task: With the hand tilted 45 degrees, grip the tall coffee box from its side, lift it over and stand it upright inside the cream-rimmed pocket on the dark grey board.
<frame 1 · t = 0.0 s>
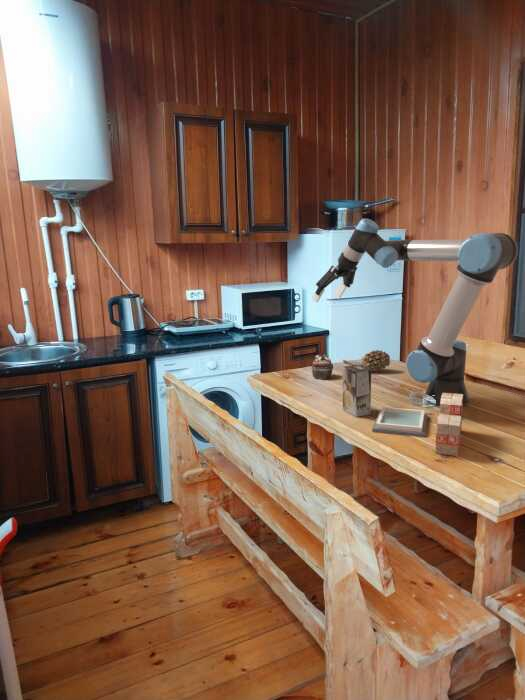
hand: (326, 298, 215), 36 cm above the table, tool tilted 35°, fingers open, 13 cm apart
holder board: (400, 423, 174), on the table
stack of blocks: (448, 442, 159), on the table
pine cone: (366, 372, 239), on the table
cupcake: (322, 377, 232), on the table
coffee box: (356, 412, 186), on the table
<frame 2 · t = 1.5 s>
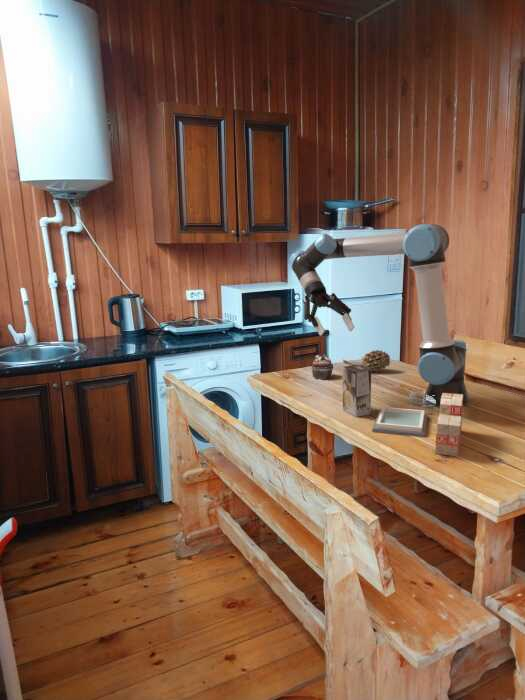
hand: (337, 331, 189), 27 cm above the table, tool tilted 45°, fingers open, 13 cm apart
nothing on the table moved.
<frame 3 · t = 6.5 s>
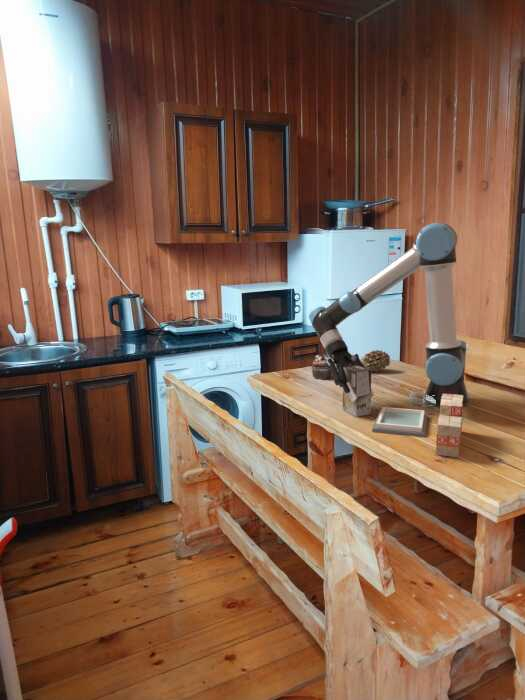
hand: (363, 398, 182), 6 cm above the table, tool tilted 45°, fingers closed on coffee box, 7 cm apart
coffee box: (356, 412, 186), on the table, touching gripper
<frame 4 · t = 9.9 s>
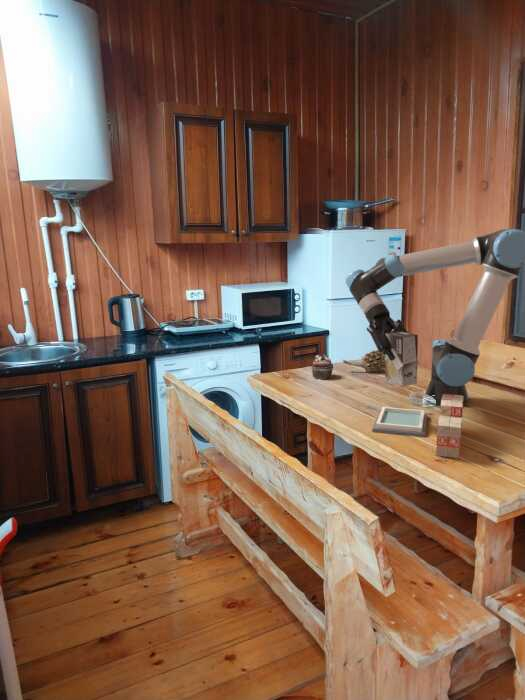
hand: (409, 366, 167), 20 cm above the table, tool tilted 45°, fingers closed on coffee box, 7 cm apart
coffee box: (400, 382, 171), point 14 cm above the table, touching gripper
when the fingers open (8 cm above the table, at t = 13.3 s): coffee box drops 1 cm, resting on holder board.
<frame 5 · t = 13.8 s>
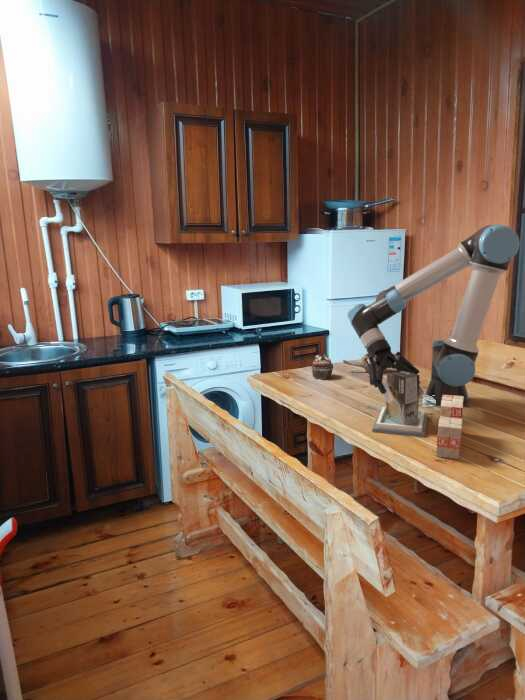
hand: (407, 397, 170), 10 cm above the table, tool tilted 45°, fingers open, 13 cm apart
coffee box: (401, 420, 174), point 1 cm above the table, touching holder board
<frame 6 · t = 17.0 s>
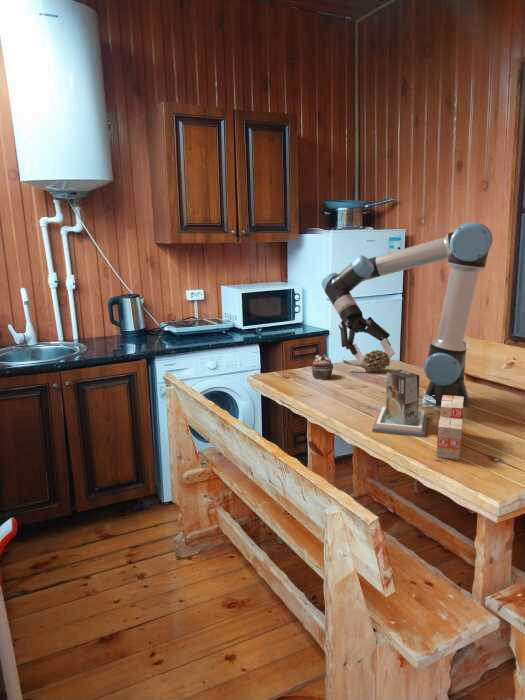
hand: (377, 358, 179), 20 cm above the table, tool tilted 45°, fingers open, 13 cm apart
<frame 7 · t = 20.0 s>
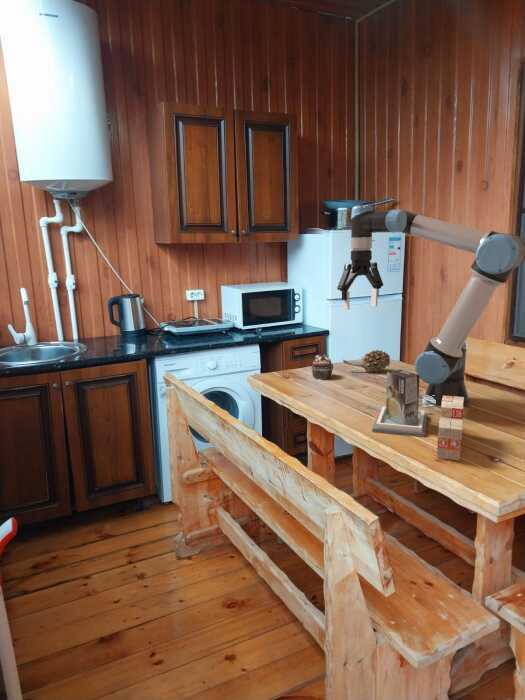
hand: (360, 307, 196), 35 cm above the table, tool pointing down, fingers open, 13 cm apart
at the end: coffee box inside the target area (0.4 cm from its centre), point 1.0 cm above the table; coffee box tilted 0°; the gripper is holding nothing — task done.
